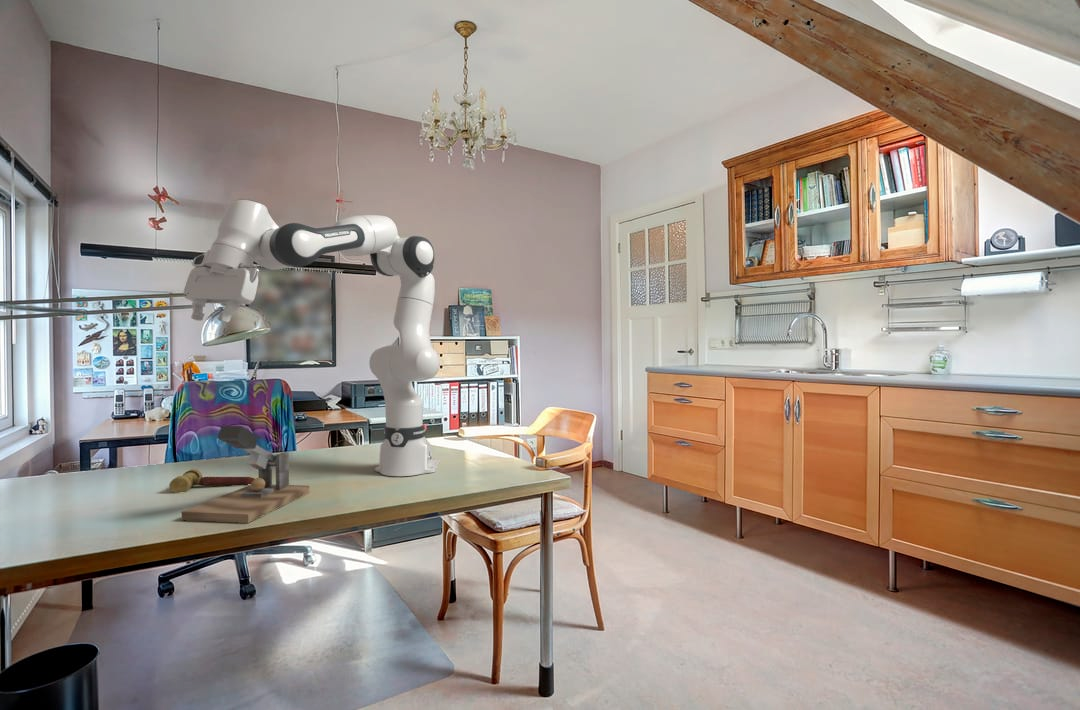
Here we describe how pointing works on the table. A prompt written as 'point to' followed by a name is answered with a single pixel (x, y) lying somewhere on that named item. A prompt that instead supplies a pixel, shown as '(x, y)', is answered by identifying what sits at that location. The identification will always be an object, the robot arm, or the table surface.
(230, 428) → the lever
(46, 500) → the table surface
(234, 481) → the gavel
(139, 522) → the table surface
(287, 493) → the nutcracker base
